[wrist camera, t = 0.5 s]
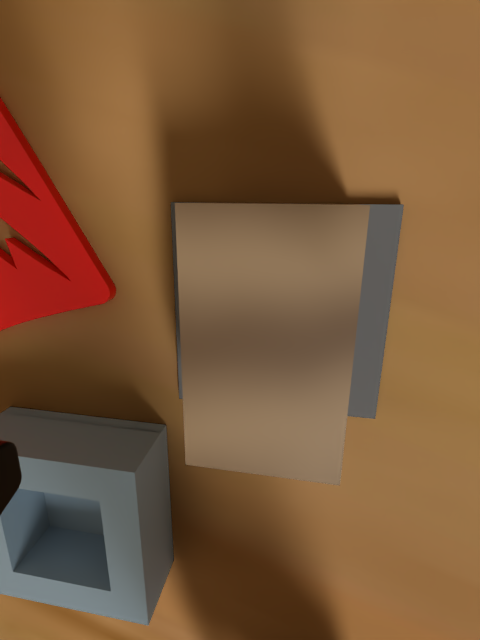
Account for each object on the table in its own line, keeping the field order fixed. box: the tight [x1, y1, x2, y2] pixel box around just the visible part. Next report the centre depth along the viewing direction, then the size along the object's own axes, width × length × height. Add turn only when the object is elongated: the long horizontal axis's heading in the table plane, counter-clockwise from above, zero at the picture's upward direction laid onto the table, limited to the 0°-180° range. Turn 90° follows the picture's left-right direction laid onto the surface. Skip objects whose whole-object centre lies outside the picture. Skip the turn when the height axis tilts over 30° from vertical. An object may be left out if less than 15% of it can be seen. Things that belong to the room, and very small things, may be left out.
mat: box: [171, 202, 404, 419], centre depth 18 cm, size 10×10×1 cm
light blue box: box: [0, 407, 174, 625], centre depth 22 cm, size 10×10×4 cm
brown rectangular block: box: [175, 203, 370, 485], centre depth 15 cm, size 10×6×5 cm, turn 179°
